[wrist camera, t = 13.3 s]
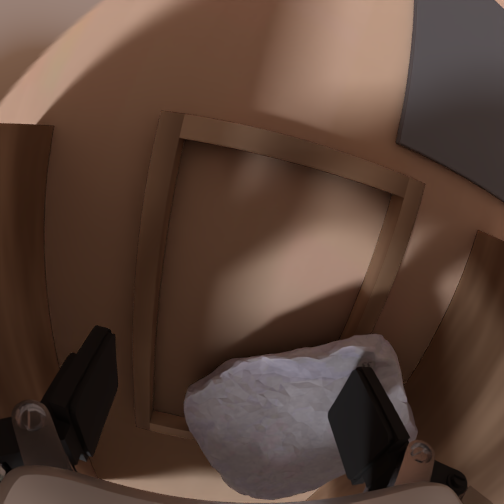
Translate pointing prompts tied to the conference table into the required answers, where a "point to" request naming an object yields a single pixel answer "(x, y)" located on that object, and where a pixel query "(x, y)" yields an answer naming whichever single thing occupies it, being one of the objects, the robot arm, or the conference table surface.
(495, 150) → the mat
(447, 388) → the well frame
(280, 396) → the stone block
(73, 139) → the conference table surface
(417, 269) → the conference table surface
